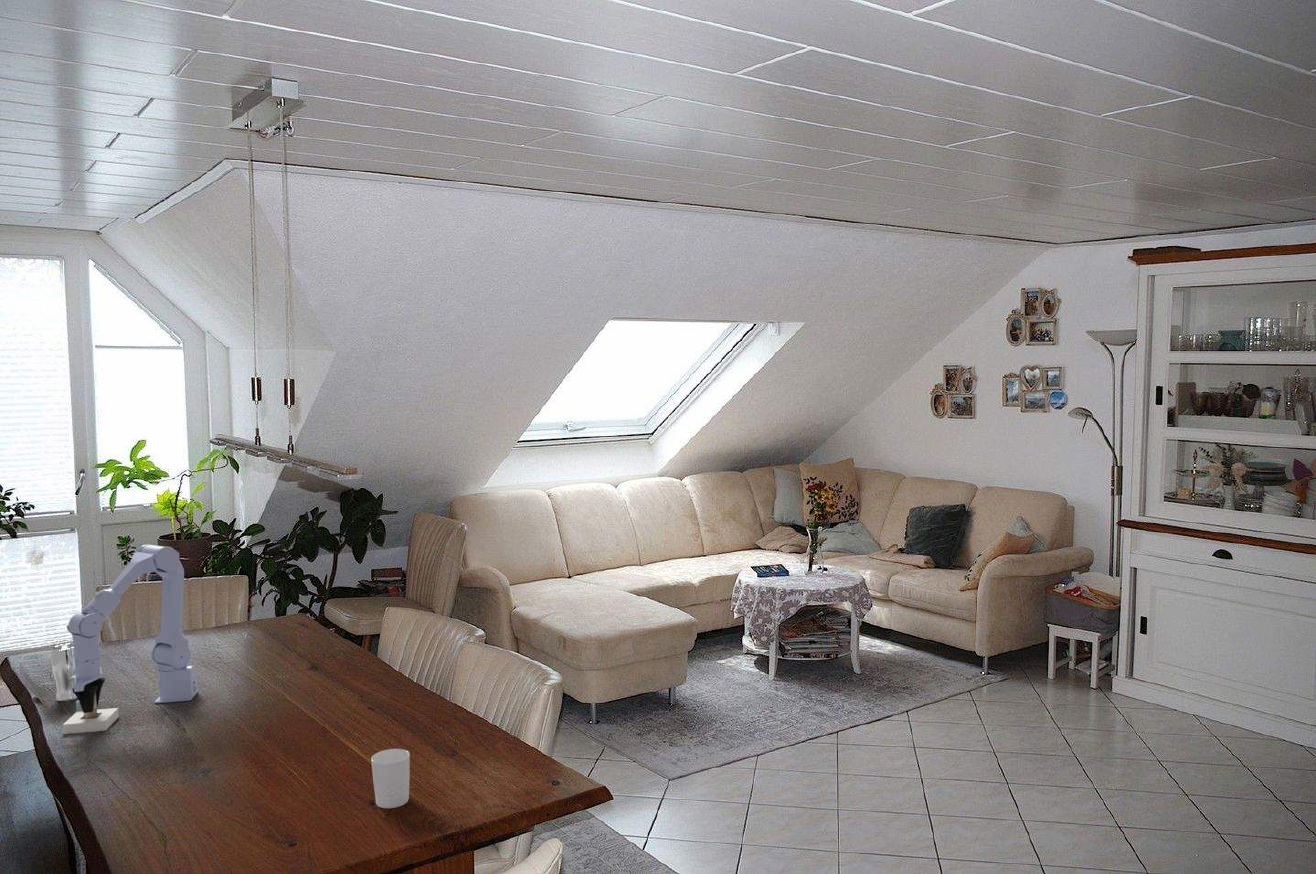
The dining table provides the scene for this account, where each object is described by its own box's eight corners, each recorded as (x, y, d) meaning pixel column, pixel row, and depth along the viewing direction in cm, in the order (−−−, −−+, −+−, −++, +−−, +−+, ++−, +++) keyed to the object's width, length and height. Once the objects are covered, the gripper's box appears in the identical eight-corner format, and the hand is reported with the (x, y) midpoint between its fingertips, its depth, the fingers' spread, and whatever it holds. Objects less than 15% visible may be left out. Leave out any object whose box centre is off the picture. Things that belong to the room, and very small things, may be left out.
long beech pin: (99, 719, 262) (97, 690, 261) (95, 724, 259) (93, 694, 259) (86, 721, 261) (84, 691, 261) (82, 725, 258) (80, 695, 258)
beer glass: (69, 703, 278) (65, 650, 277) (48, 701, 280) (44, 649, 279) (88, 694, 285) (84, 643, 284) (67, 693, 287) (63, 642, 285)
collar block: (118, 717, 266) (118, 707, 266) (105, 730, 256) (105, 721, 256) (78, 720, 264) (77, 711, 264) (63, 734, 254) (62, 724, 254)
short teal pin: (91, 714, 269) (90, 698, 268) (87, 718, 266) (86, 702, 265) (79, 715, 268) (78, 699, 268) (75, 719, 265) (74, 703, 265)
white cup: (377, 794, 215) (375, 749, 214) (414, 792, 215) (412, 747, 214) (369, 811, 207) (367, 764, 206) (408, 809, 207) (406, 762, 207)
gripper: (80, 652, 265) (84, 701, 266) (59, 668, 251) (63, 721, 252) (109, 650, 267) (112, 699, 268) (89, 666, 252) (93, 718, 254)
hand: (90, 709), depth 260 cm, fingers closed on long beech pin, 3 cm apart
